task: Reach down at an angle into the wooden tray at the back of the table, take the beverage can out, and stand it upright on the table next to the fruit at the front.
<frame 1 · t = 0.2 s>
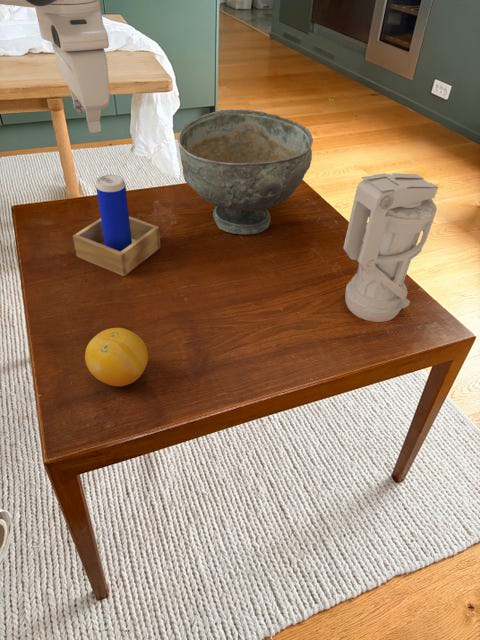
hand: (87, 120, 80), 26 cm above the table, tool pointing down, fingers open, 8 cm apart
lantern: (366, 307, 90), on the table
decorative bowl: (241, 221, 110), on the table
wooden tray: (119, 252, 98), on the table
fruit: (120, 376, 74), on the table
beverage can: (119, 251, 98), resting on wooden tray
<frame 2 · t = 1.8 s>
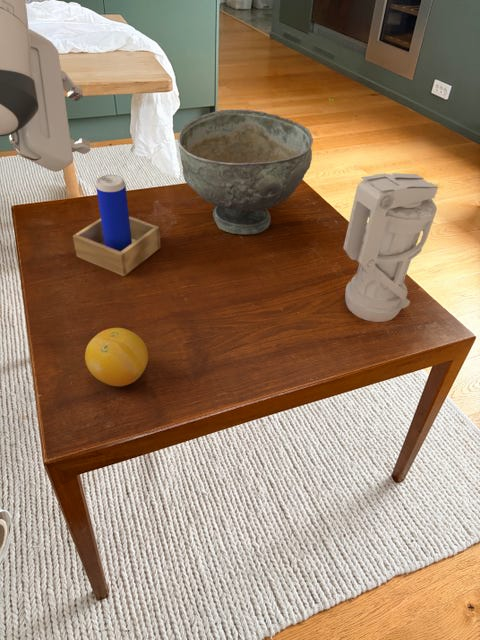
hand: (83, 121, 80), 26 cm above the table, tool tilted 55°, fingers open, 8 cm apart
nothing on the table moved.
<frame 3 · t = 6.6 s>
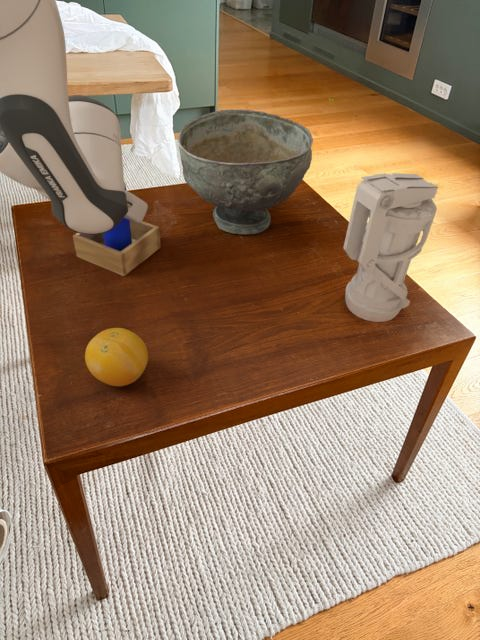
hand: (116, 208, 93), 9 cm above the table, tool tilted 45°, fingers closed on beverage can, 5 cm apart
beverage can: (119, 251, 98), resting on wooden tray, touching gripper
everything else where it was.
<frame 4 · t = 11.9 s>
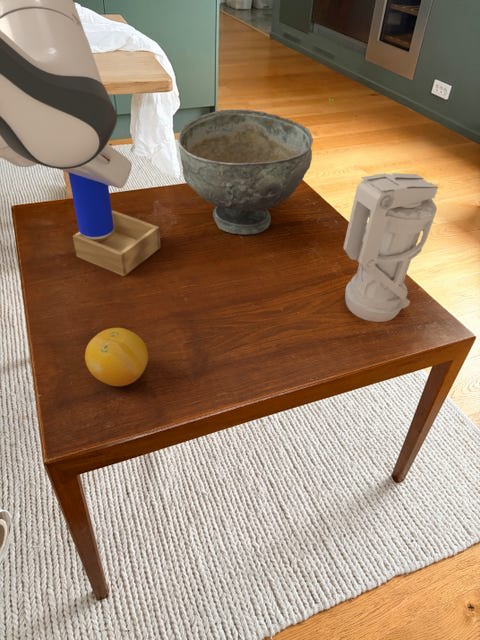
hand: (90, 174, 70), 24 cm above the table, tool tilted 45°, fingers closed on beverage can, 5 cm apart
beverage can: (97, 232, 76), point 15 cm above the table, touching gripper
everything else where it was.
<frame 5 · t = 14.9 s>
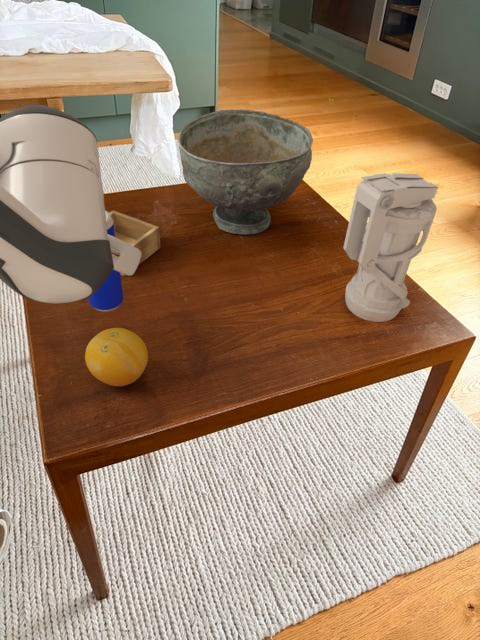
hand: (101, 251, 71), 16 cm above the table, tool tilted 45°, fingers closed on beverage can, 5 cm apart
beverage can: (107, 303, 77), point 6 cm above the table, touching gripper
everything else where it was.
when the fingers open (9 cm above the table, at t = 17.2 s): beverage can stays where it is, on the table.
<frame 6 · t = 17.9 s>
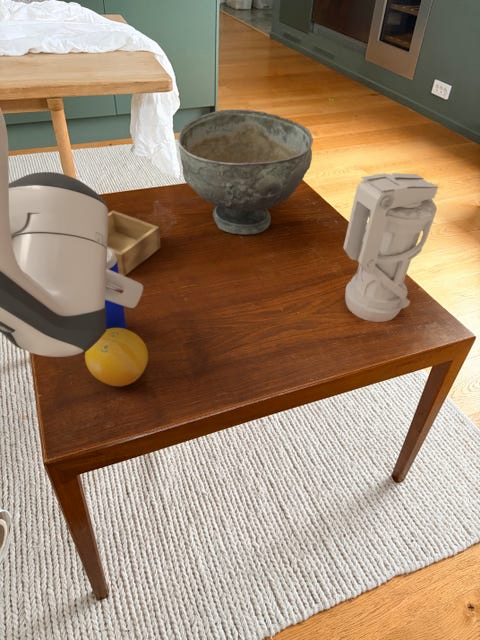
hand: (105, 280, 75), 10 cm above the table, tool tilted 45°, fingers open, 8 cm apart
beverage can: (110, 332, 81), on the table
everything else where it was.
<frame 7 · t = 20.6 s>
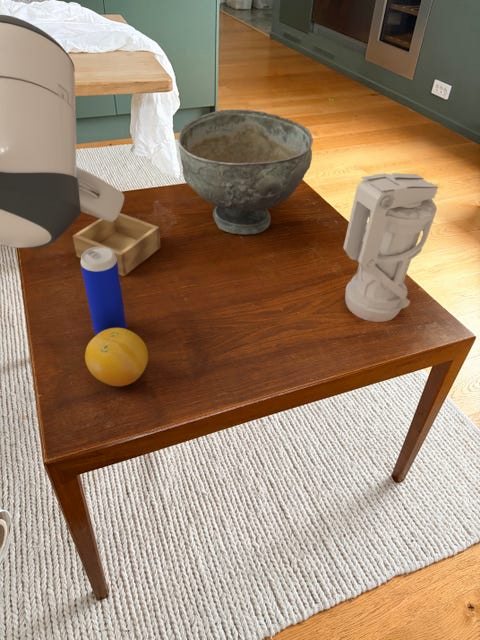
hand: (81, 201, 65), 24 cm above the table, tool tilted 45°, fingers open, 8 cm apart
nothing on the table moved.
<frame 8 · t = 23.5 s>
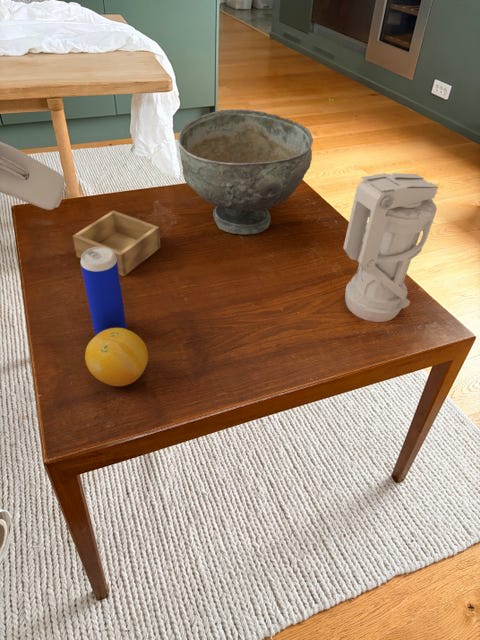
hand: (24, 188, 56), 29 cm above the table, tool tilted 45°, fingers open, 8 cm apart
nothing on the table moved.
at the end: beverage can inside the target area (0.0 cm from its centre), on the table; beverage can 10.0 cm from the fruit (horizontally); beverage can tilted 0° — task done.
